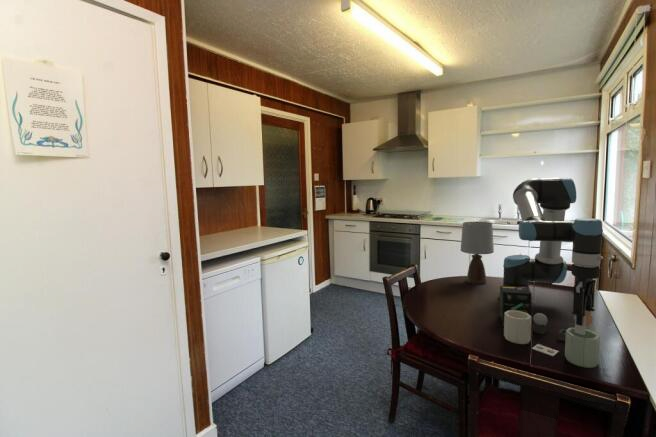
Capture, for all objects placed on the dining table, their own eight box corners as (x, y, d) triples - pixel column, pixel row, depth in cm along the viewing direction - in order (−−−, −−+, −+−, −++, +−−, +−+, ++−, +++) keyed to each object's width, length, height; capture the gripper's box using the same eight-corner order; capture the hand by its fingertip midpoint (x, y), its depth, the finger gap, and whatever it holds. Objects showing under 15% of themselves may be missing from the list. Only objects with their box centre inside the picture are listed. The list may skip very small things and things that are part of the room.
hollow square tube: (557, 339, 128) (558, 331, 128) (561, 336, 130) (561, 329, 130) (569, 342, 125) (569, 335, 125) (572, 339, 127) (573, 332, 127)
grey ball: (530, 324, 135) (531, 313, 135) (536, 321, 138) (536, 310, 138) (544, 329, 131) (544, 317, 131) (549, 325, 134) (549, 313, 134)
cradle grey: (532, 331, 136) (533, 324, 135) (536, 328, 138) (537, 321, 137) (543, 334, 132) (543, 327, 132) (546, 331, 135) (547, 324, 134)
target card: (531, 348, 122) (531, 347, 122) (537, 344, 125) (537, 343, 125) (553, 356, 116) (553, 355, 116) (558, 351, 119) (558, 350, 119)
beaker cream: (500, 338, 131) (501, 314, 130) (510, 331, 136) (511, 308, 135) (523, 346, 124) (524, 321, 123) (533, 339, 129) (534, 315, 128)
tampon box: (525, 317, 149) (526, 286, 147) (531, 326, 140) (532, 293, 138) (499, 315, 152) (499, 285, 151) (502, 323, 144) (503, 291, 142)
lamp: (500, 284, 197) (501, 223, 193) (475, 288, 191) (476, 225, 187) (477, 276, 214) (478, 220, 210) (453, 279, 209) (454, 222, 205)
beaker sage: (561, 359, 114) (562, 332, 113) (570, 351, 119) (572, 325, 118) (592, 370, 107) (593, 341, 106) (600, 361, 112) (602, 333, 111)
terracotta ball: (571, 325, 112) (572, 311, 111) (576, 321, 115) (577, 307, 114) (589, 330, 108) (590, 315, 107) (594, 325, 111) (595, 311, 110)
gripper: (590, 271, 101) (587, 343, 103) (608, 262, 111) (604, 327, 114) (562, 267, 107) (559, 335, 109) (581, 258, 117) (578, 320, 120)
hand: (582, 330), depth 112 cm, fingers closed on terracotta ball, 5 cm apart
